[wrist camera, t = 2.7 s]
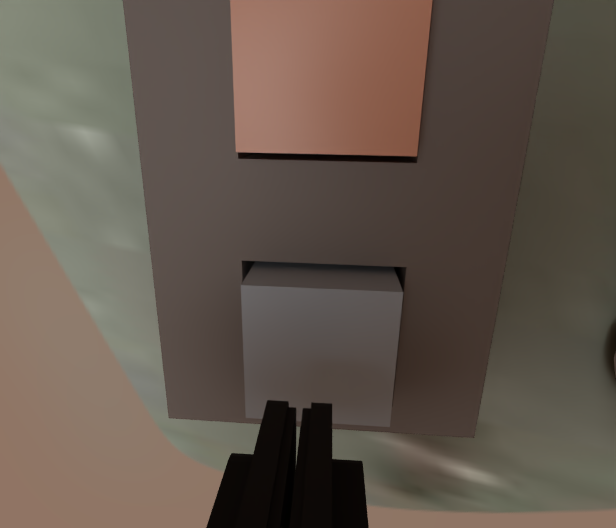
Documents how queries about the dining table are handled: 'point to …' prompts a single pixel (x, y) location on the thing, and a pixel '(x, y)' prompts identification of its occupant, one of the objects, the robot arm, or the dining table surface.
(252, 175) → the key panel
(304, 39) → the terracotta key
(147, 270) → the dining table surface
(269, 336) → the slate key
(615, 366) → the can
